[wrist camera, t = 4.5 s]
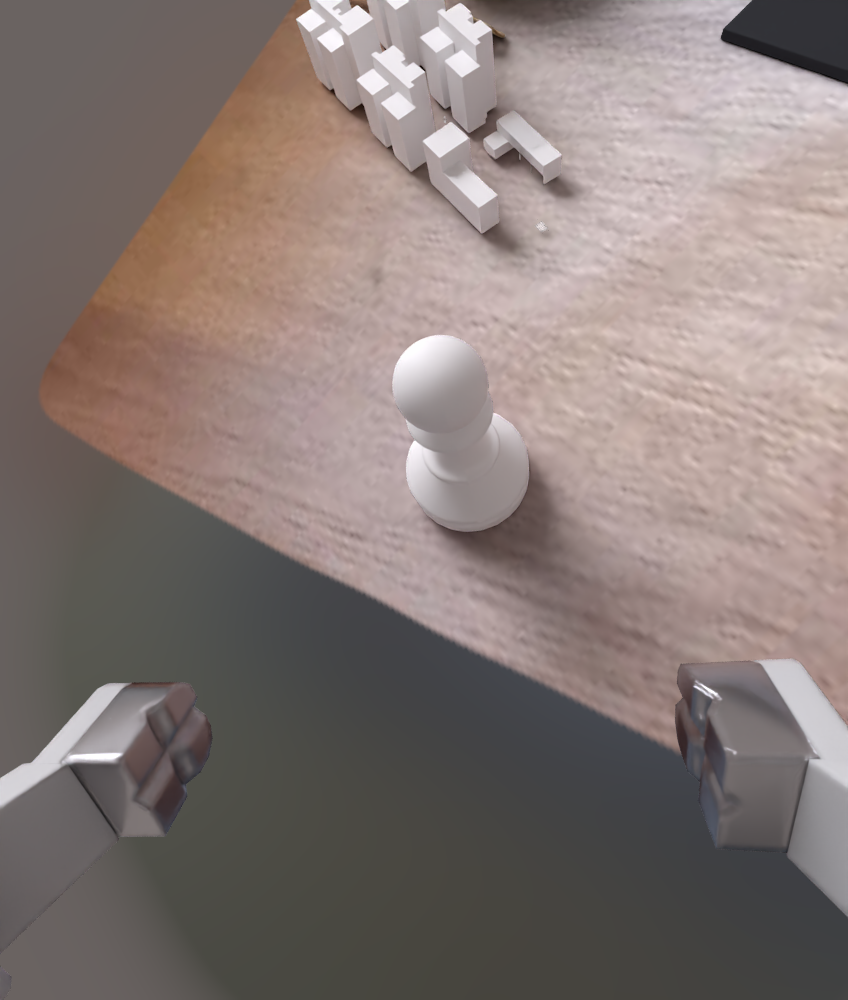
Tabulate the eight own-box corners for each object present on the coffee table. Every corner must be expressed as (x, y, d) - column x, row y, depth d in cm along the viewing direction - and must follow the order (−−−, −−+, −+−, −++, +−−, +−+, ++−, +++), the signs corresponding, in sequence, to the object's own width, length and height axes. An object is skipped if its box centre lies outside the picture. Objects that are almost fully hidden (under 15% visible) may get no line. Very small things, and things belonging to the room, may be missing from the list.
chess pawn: (405, 439, 23) (333, 310, 15) (514, 412, 23) (503, 261, 14) (423, 544, 22) (354, 464, 13) (542, 518, 21) (547, 417, 13)
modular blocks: (317, 78, 33) (289, 2, 29) (407, 17, 33) (390, -66, 29) (500, 265, 25) (494, 196, 22) (615, 187, 25) (628, 104, 22)
